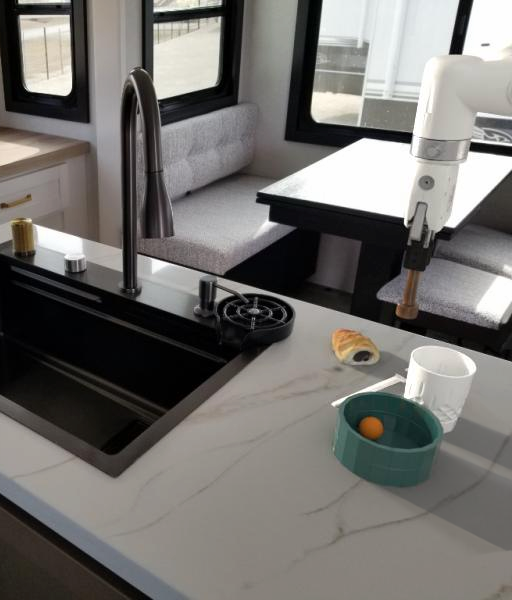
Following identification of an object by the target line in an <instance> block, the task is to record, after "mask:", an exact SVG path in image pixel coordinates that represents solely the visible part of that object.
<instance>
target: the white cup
mask: <svg viewBox="0 0 512 600" xmlns="http://www.w3.org/2000/svg"><path fill="white" fill-rule="evenodd" d="M408 368H409V369H408V372H407V374H406V375H407V376H406V379H407V380H406V383H405V388H404V392H403V393H404V394H403V397H405V398H408V399H410V400H413V401H415V402H417V403H419V404H421V405H422V406H424V407H425V408H427V409H429V410H430V411H431V412H432V413H433V414H434V415H435V416H436V417H437V418H438V419H439V420H440V423H441V425H442V427H443V429H444V432H443V434H446V433H450V432H452V431H453V430H454V428H455V427H456V424H457V421H458V418H459V416H460V415H461V414H462V410H463V407H464V406H465V402H466V400H467V398H468V395H469V392H470V390H471V386H472V383H473V381H474V378H475V375H476V373H477V365H476V363H475V361H474V360H473V359H472V358H471V357H469V356H468V355H466V354H464V353H463V352H460V351H458V350H455V349H453V348H449V347H445V346H440V345H423V346H419V347H417V348H414V349H413V350H412V352H411V354H410V358H409V363H408Z"/></svg>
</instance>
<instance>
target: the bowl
mask: <svg viewBox="0 0 512 600" xmlns="http://www.w3.org/2000/svg"><path fill="white" fill-rule="evenodd" d="M353 394H354V393H353ZM351 395H352V394H351ZM348 396H349V395H348ZM346 397H347V396H346ZM338 407H339V408H338V410H337V415H336V420H335V428H334V432H333V438H332V444H331V445H332V449H333V453H334V456H335V457H336V458H337V460H338V461H339V462H340V464H342V466H343V467H344V468H346V470H348V471H349V472H350V473H352V474H354V475H356V476H357V477H359V478H361V479H363V480H365V481H368V482H370V483H373V484H377V485H380V486H384V487H390V488H391V487H392V488H409V487H415V486H418V485H421V484H423V483H425V482H427V481H428V480H429V479H430V478H431V477H432V475H433V474H434V472H435V468H436V464H437V461H438V457H439V454H440V451H441V447H442V444H443V440H444V433H443V432H444V429H443V427H442V425H441V423H440V420H439V419H438V418H437V417H436V416H435V415H434V414H433V413H432V412H431V411H430V410H429V409H427V408H425V407H424V406H422V405H421V404H419V403H417V402H415V401H413V400H410V399H408V398H405V397H404V396H402V395H398V394H395V393H390V392H384V391H383V392H382V391H376V392H362V393H357V394H354V395H352V396H349V397H347V398H346V399H345V400H344V401H343V402H342V403H341V404H340V405H339V406H338ZM366 417H374V418H377V419H378V420H379V421H380V422H381V423H382V425H383V433H382V435H381V436H380V437H379V438H378V439H375V440H369V439H366V438H364V437H363V436H362V435H361V433H360V431H359V424H360V422H361V421H362V420H363V419H364V418H366Z"/></svg>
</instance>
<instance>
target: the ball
mask: <svg viewBox="0 0 512 600" xmlns="http://www.w3.org/2000/svg"><path fill="white" fill-rule="evenodd" d="M359 431H360V433H361V435H362V436H363V437H364V438H366V439H369V440H375V439H378V438H379V437H380V436H381V435H382V433H383V425H382V423H381V422H380V421H379V420H378V419H377V418H374V417H366V418H364V419H363V420H362V421H361V422H360V424H359Z"/></svg>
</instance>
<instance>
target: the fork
mask: <svg viewBox="0 0 512 600" xmlns="http://www.w3.org/2000/svg"><path fill="white" fill-rule="evenodd" d="M408 369H409V367H407V368H405V369H404V371H405V372H407V373H408ZM406 380H407V378H405V377H404V376H402V375H400V374H399V373H395V374H394V375H393V376H392V377H389V378H387V379H385V380H382V381H379V382H377V383H375V384H372V385H370V386H368V387H365V388H363V389H361V390H358V391H357V392H354V393H352V394H350V395H347V396H344V397H342V398H339V399H337V400H335V401H333V402H332V403H331V406H333V408H337V407H340V404H341V403H342V402H343V401H344V400H345V399H346V398H347V397H349V396H352V395H354V394H357V393H362V392H379V391H381V390H383V389H385V388H388V387H391V386H393V385H395V384H398V383H403V384H404V383H405V384H406Z"/></svg>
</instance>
